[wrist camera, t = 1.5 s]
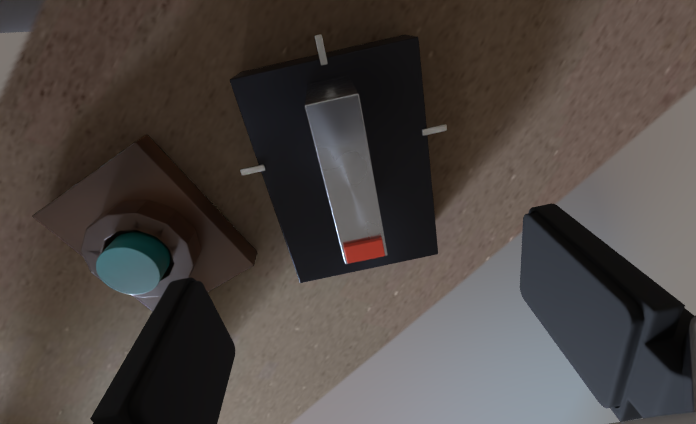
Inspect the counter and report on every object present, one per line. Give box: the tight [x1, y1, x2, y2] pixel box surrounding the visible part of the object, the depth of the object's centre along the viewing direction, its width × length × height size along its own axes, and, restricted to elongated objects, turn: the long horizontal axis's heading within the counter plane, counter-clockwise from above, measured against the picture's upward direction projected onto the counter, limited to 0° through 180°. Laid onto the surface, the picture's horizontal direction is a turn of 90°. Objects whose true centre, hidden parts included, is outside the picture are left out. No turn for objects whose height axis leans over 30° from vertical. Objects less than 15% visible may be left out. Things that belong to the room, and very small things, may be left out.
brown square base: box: [32, 135, 257, 311], centre depth 24 cm, size 11×9×4 cm
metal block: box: [305, 74, 388, 264], centre depth 18 cm, size 8×2×6 cm, turn 11°
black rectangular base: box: [230, 34, 447, 283], centre depth 22 cm, size 15×12×3 cm
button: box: [96, 232, 170, 295], centre depth 22 cm, size 4×4×2 cm
